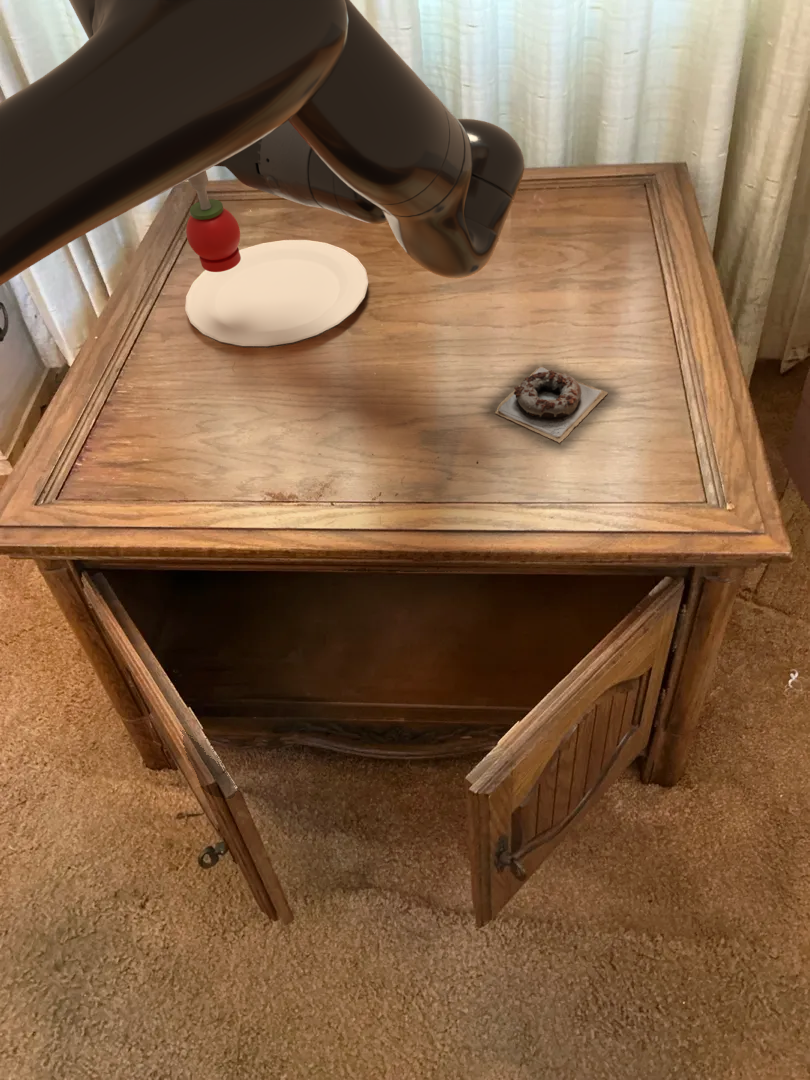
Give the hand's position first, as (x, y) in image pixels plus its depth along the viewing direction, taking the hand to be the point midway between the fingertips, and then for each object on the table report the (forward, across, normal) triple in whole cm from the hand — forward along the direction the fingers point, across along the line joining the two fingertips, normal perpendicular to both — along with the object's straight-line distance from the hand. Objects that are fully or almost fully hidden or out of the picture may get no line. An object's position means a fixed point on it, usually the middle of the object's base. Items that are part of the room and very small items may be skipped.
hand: (158, 109), depth 76 cm
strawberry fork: (-3, 0, +14) cm, 15 cm away
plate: (-2, -7, +24) cm, 25 cm away
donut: (-37, -8, +24) cm, 45 cm away
